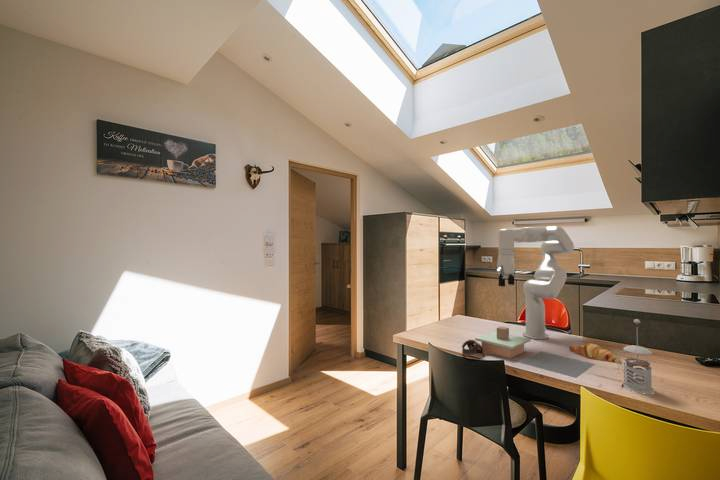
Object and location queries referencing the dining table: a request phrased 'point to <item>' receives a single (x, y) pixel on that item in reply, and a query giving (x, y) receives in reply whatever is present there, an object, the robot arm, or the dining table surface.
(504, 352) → the shallow wooden crate
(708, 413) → the dining table surface
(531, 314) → the robot arm
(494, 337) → the lid
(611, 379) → the dining table surface
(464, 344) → the brown napkin holder
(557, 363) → the mat
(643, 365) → the french press
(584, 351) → the croissant
